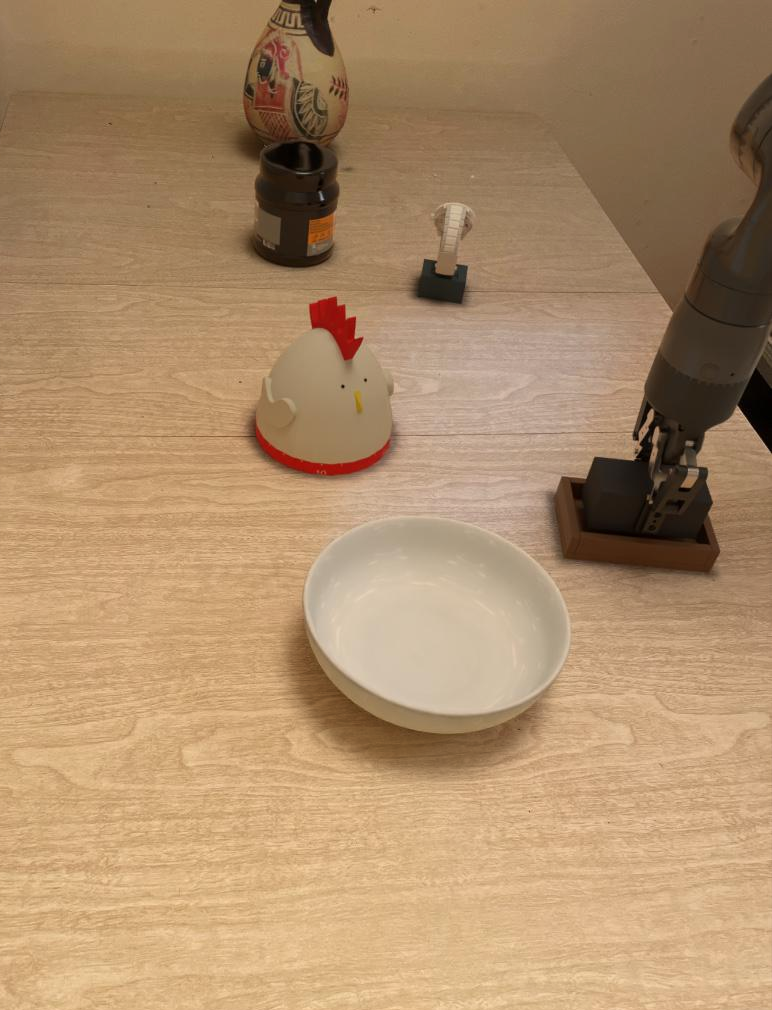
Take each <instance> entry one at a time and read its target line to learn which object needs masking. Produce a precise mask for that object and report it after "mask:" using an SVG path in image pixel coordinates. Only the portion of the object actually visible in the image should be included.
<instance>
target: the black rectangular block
mask: <svg viewBox="0 0 772 1010" xmlns="http://www.w3.org/2000/svg"><path fill="white" fill-rule="evenodd" d="M648 465H649V462H644V461H634V459H633V460H632V459H625V458H624V459H623V458H613V457H603V456H594V457H593V459H592V462H591V465H590V467H589V471H588V473H587V475H586V477H585V479H586V481H585V484H584V486H583V489H582V492H581V496H582V501H583V506H584V511H585V516H586V521H587V526H588V528H589V529H599V530H609V531H619V532H628V533H635V531H634V526H633V525H634V523H635V521H636V518H637V516H638V514H639V511H640V509H641V507H642V505H643V502H644V500H645V498H646V494H647V491H648V487H649V483H650V479H651V478H650V476H649V475H648V474H647V469H648ZM674 467H675V466H669V465H663V464H661V463H660V465H659V468H660V469H671V468H673V469H674ZM664 483H665V481H662V482H661V483H660V485H659V488H658V491H659V490H660V489H661V487H662V486H663V484H664ZM713 504H714V502H713V498H712V495H711V492H710V489H709V486H708V482H707V480H706V481H705V483H704V484H703V486H702V487H701V488H700V490H699V491H698V493H697V494H696V496H695V497H694V498H693V500H692V501H691V503H690V504H689V506H688V507H687V508H686V510H685V511H684V513H683V514H682V515H676V514H667V515H666V517H665V520H664V522H663V524H662V526H661V528H660V530H659V532H658V533H657V534H656V535H658V536H668V537H678V538H688V539H695V538H696V536H697V534H698V532H699V530H700V528H701V526H702V524H703V522H704V520H705V518H706V516H707V514H708V515H709V512H710V510H711V508H712V506H713Z"/></svg>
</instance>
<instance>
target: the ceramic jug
mask: <svg viewBox="0 0 772 1010" xmlns="http://www.w3.org/2000/svg"><path fill="white" fill-rule="evenodd" d="M332 2H333V0H281V1H280V3H279V5H278V6H277V8H276V10H275V11H274V13H273V15H271V17H270V18H269V20H268V21H267V24H266V25H265V27H264V29H263V30H262V33H261V34H260V37H259V38H258V40H257V41H256V43H255V46H254V47H253V50H252V52H251V54H250V57H249V60H248V64H247V69H246V71H245V72H246V73H245V77H244V84H243V91H242V105H243V110H244V116H245V119H246V122H247V123H248V125H249V127H250V128H251V130H252V131H253V132H254V134H255V135H256V137H257V138H258V140H259V141H260V142H261V144H262V143H263V144H264V145H265V146H268V145H270V144H273V143H276V142H281V141H304V142H310V143H314V144H318V145H321V146H323V147H325V148H327V147H328V146H329V145H330V144H331V143H332V142H333V141H334V140H335V139H336V138H337V136H339V134H340V132H341V131H342V129H343V128H344V125H345V122H346V119H347V116H348V110H349V102H350V101H349V100H350V99H349V98H350V96H349V95H350V94H349V93H350V88H349V79H348V75H347V71H346V66H345V62H344V59H343V56H342V53H341V50H340V48H339V46H338V43H337V41H336V39H335V37H334V34H333V32H332V29H331V27H330V23H329V19H328V18H329V12H330V7H331V5H332ZM263 144H262V145H263ZM264 148H265V147H264V146H263V149H264Z"/></svg>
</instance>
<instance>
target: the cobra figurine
mask: <svg viewBox="0 0 772 1010" xmlns="http://www.w3.org/2000/svg"><path fill="white" fill-rule="evenodd" d="M430 221H433V224H434V226H435V229H436V233H437V237H438V238H440V243H439V247H438V248H439V249H438V254H437V259H436V260H435V259H428V258H423V263H422V268H421V272H420V279H419V284H418V290H417V297H416V298H423V299H428V300H434V301H440V302H447V303H453V304H459V305H462V304H463V299H464V294H465V289H466V284H467V278H468V269H469V265H466V264H459V263H457V262H458V258H459V251H458V250H459V247H460V242H461V241H464V239H465V238H466V236H467V235H468V234H469V233H470V232H471V231H472V230H473V228H474V225H475V222H476V214H475V212H474V211H473V209H472V208H471V207H469V206H468V205H466V204H463V203H460V202H446V203H442V204H441V205H439V206H438V207H436V208H435V211H434V213H431V214H430Z"/></svg>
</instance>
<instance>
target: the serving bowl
mask: <svg viewBox="0 0 772 1010" xmlns="http://www.w3.org/2000/svg"><path fill="white" fill-rule="evenodd" d="M301 599H302V603H301V604H302V613H303V620H304V621H303V622H304V627H305V631H306V636H307V639H308V642H309V645H310V648H311V650H312V653H313V654H314V657H315V658H316V660H317V662H318V665H320V668H321V669H322V670H323V672H324V673H325V675H326V676H327V678H329V680H330V681H331V682H332V684H333V685H334V686H335V688H337V689H338V690H339V691H340V692H341V693H342V694H343V695H345V696H346V697H347V698H348V699H349V700H350V701H351V702H353V703H354V704H356V705H357V706H358V707H359V708H360V709H363V710H364V711H365V712H368V713H369V714H371V715H372V716H374V717H377V718H379V719H381V720H383V721H385V722H387V723H390V724H392V725H395V726H398V727H401V728H405V729H409V730H413V731H416V732H417V731H418V732H424V733H431V734H445V735H446V734H447V735H448V734H449V735H450V734H466V733H472V732H478V731H482V730H486V729H490V728H492V727H496V726H498V725H501V724H504V723H506V722H508V721H510V720H511V719H513V718H515V717H517V716H519V715H521V714H522V713H523V712H525V711H527V710H528V709H530V708H531V707H532V706H533V705H534V704H535V703H536V702H538V701H539V700H540V699H541V698H542V697H543V696H545V693H546V692H547V691H548V690H549V689H550V688H551V686H553V684H554V683H555V681H556V680H557V679H558V677H559V676H560V675H561V673H562V671H563V669H564V667H565V665H566V663H567V660H568V658H569V656H570V655H569V654H570V651H571V646H572V638H573V637H572V636H573V635H572V622H571V617H570V613H569V609H568V606H567V604H566V600H565V599H564V596H563V594H562V592H561V590H560V589H559V587H558V585H557V584H556V582H555V581H554V579H553V578H552V577H551V575H550V574H549V573H548V572H547V571H546V570H545V569H544V568H543V566H542V565H541V564H540V563H539V562H538V561H537V560H536V559H535V558H533V557H532V556H531V555H530V554H529V553H528V552H526V551H524V549H522V548H521V547H519V546H517V544H515V543H513V542H511V541H510V540H508V539H506V538H505V537H503V536H501V535H499V534H497V533H495V532H493V531H490V530H488V529H486V528H483V527H481V526H478V525H476V524H473V523H468V522H465V521H461V520H458V519H454V518H448V517H442V516H434V515H418V514H415V515H412V514H411V515H397V516H388V517H383V518H378V519H375V520H371V521H368V522H367V521H366V522H364V523H361V524H359V525H357V526H354V527H353V528H350V529H348V530H346V531H345V532H343V533H342V534H340V535H338V536H336V537H335V538H334V539H333V540H331V541H330V542H329V543H328V544H327V545H326V546H324V548H323V549H322V550H321V551H320V552H319V553H318V554H317V556H316V557H315V559H314V560H313V562H312V563H311V565H310V567H309V568H308V571H307V573H306V575H305V578H304V583H303V588H302V597H301Z"/></svg>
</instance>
